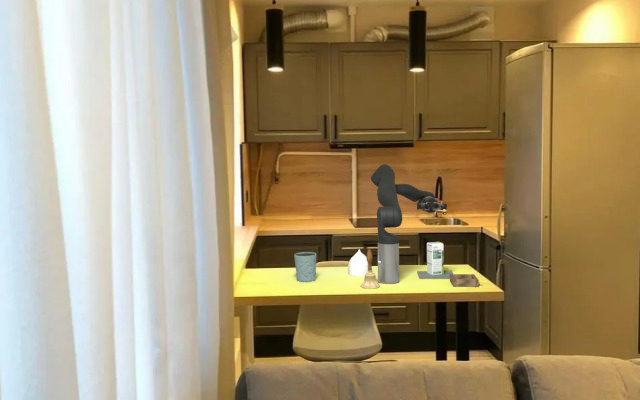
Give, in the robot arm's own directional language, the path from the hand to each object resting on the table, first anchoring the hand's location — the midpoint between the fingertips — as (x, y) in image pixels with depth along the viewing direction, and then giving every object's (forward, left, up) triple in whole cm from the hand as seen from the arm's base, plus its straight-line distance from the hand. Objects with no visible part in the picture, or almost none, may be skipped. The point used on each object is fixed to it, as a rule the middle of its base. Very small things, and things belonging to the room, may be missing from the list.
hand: (433, 208), depth 262 cm
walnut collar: (+10, -26, -30) cm, 41 cm away
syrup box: (0, -11, -29) cm, 31 cm away
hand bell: (-30, -31, -30) cm, 53 cm away
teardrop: (-35, -7, -30) cm, 47 cm away
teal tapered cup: (-59, -20, -30) cm, 69 cm away
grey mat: (0, -11, -30) cm, 32 cm away
